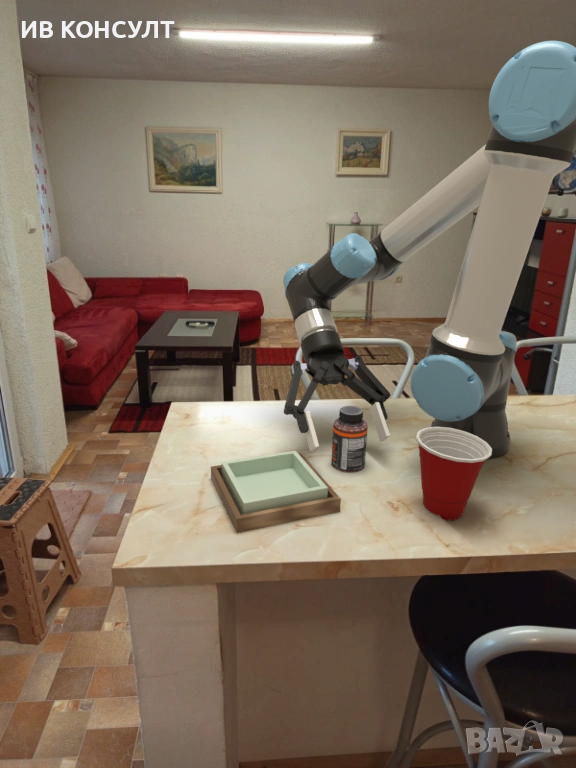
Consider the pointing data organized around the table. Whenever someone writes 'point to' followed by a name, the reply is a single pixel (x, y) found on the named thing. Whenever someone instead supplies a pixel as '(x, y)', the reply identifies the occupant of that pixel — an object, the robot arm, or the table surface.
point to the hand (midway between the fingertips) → (350, 444)
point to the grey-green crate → (271, 482)
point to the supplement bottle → (349, 440)
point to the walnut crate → (276, 514)
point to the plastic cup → (449, 468)
